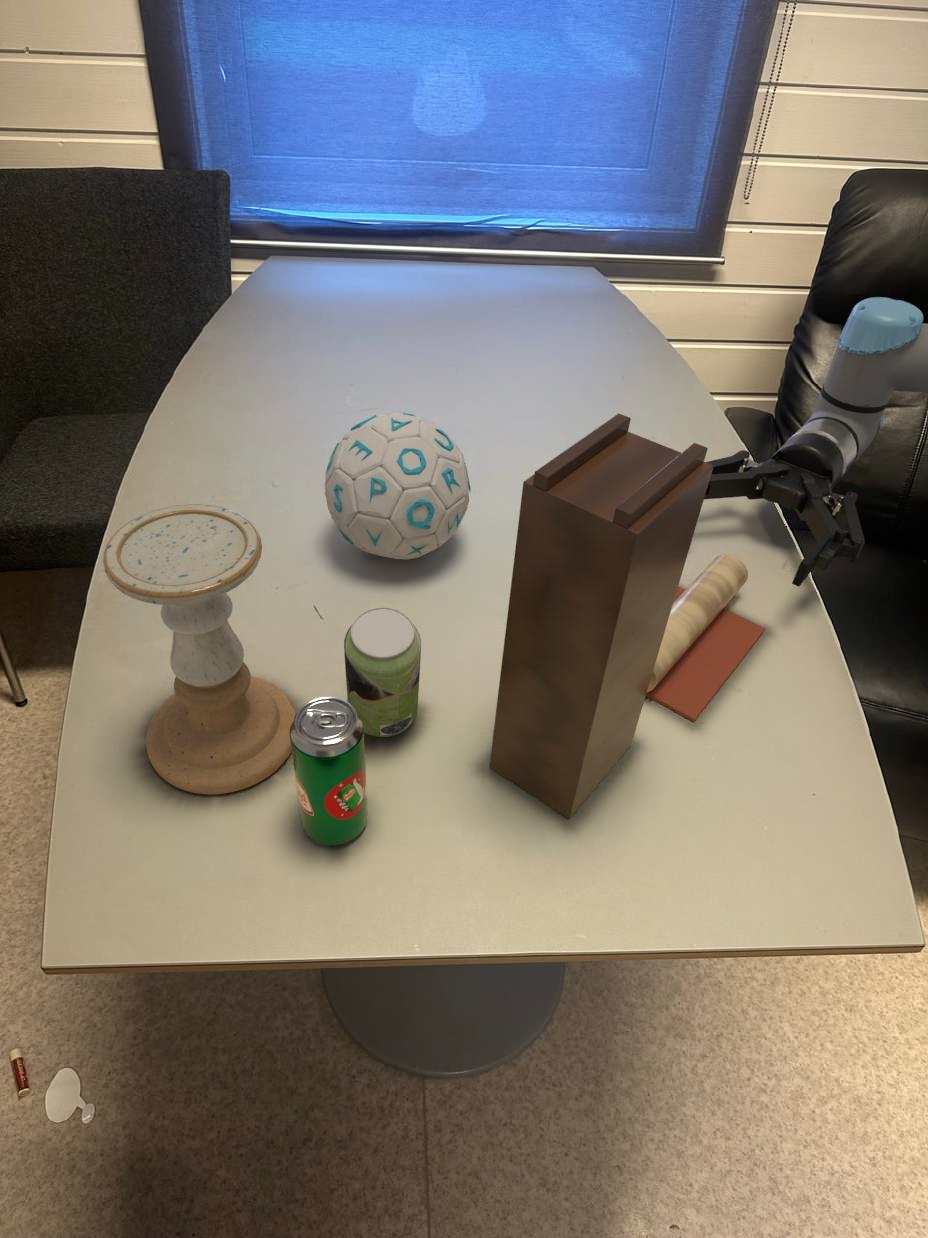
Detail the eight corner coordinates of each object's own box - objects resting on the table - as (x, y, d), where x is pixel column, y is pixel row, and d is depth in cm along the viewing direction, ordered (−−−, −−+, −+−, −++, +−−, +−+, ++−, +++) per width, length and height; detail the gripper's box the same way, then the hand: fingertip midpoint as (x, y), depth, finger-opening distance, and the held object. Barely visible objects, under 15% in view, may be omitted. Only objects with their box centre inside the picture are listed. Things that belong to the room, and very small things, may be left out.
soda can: (303, 796, 66) (289, 693, 58) (367, 792, 66) (362, 690, 58) (300, 852, 62) (286, 750, 54) (368, 847, 63) (363, 746, 55)
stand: (631, 745, 71) (718, 451, 52) (569, 820, 65) (641, 519, 46) (554, 700, 75) (609, 408, 56) (488, 767, 69) (524, 466, 49)
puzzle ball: (306, 570, 87) (295, 444, 77) (358, 495, 98) (354, 376, 88) (444, 601, 84) (451, 475, 74) (481, 520, 95) (491, 401, 85)
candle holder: (306, 685, 75) (286, 497, 61) (288, 798, 65) (259, 607, 52) (168, 682, 74) (117, 492, 61) (130, 795, 65) (59, 601, 51)
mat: (764, 631, 83) (765, 628, 83) (693, 722, 74) (694, 719, 74) (659, 580, 89) (660, 577, 88) (580, 659, 79) (581, 656, 79)
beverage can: (407, 684, 75) (408, 583, 67) (430, 745, 70) (434, 644, 62) (339, 698, 74) (332, 596, 66) (357, 761, 69) (352, 659, 60)
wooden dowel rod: (707, 577, 89) (717, 547, 86) (741, 594, 87) (753, 564, 84) (612, 678, 77) (621, 648, 74) (650, 700, 75) (660, 669, 72)
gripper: (906, 532, 93) (843, 629, 80) (704, 453, 103) (619, 527, 90) (936, 475, 88) (873, 568, 75) (720, 398, 98) (632, 468, 85)
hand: (734, 546), depth 83 cm, fingers open, 13 cm apart
